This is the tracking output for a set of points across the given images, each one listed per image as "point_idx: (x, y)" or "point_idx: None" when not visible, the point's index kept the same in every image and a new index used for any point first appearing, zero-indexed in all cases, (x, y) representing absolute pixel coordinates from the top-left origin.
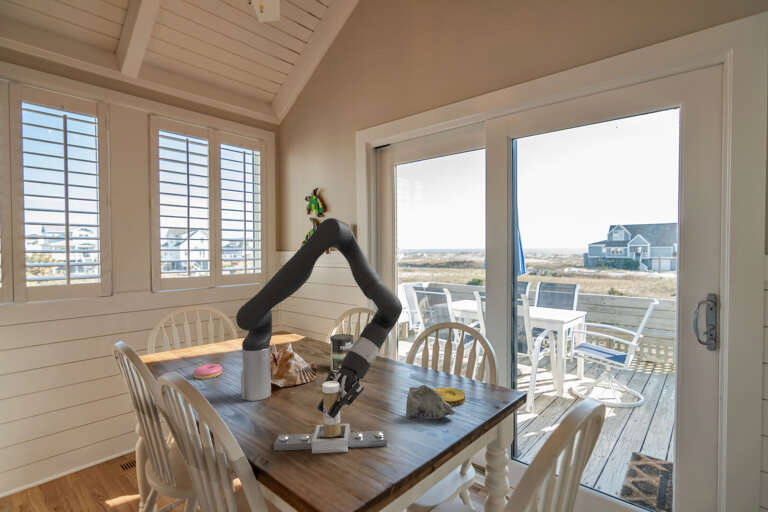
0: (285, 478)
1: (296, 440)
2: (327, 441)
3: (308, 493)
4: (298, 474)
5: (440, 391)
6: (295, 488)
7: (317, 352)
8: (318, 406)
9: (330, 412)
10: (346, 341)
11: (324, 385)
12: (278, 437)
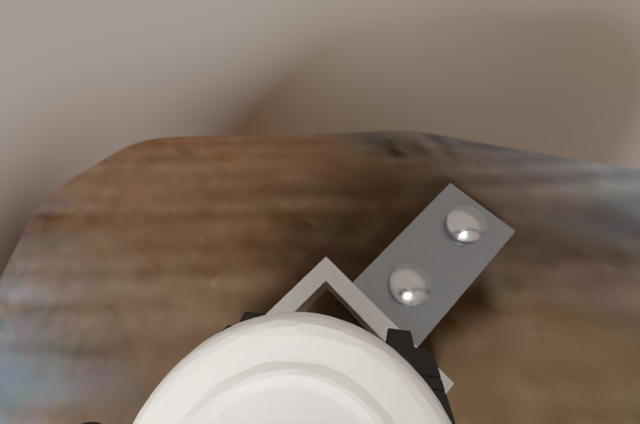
0: (279, 145)
1: (417, 252)
2: (275, 305)
3: (181, 150)
4: (265, 175)
5: None
6: (224, 141)
7: None
8: (404, 335)
9: (239, 322)
10: None
11: (307, 333)
12: (492, 219)
